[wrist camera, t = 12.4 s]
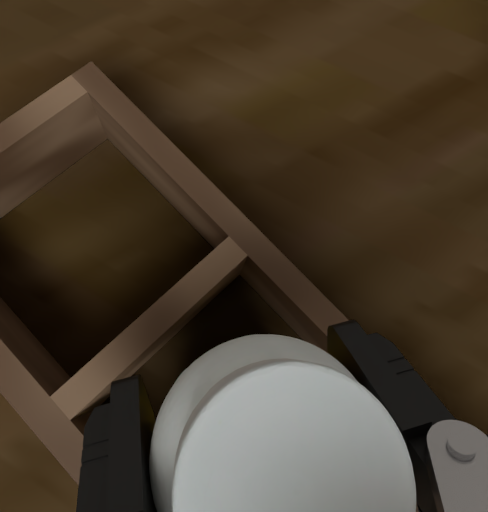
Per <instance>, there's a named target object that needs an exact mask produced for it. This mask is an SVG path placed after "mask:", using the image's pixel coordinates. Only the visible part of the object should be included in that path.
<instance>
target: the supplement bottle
mask: <svg viewBox="0 0 488 512" xmlns="http://www.w3.org/2000/svg"><path fill="white" fill-rule="evenodd" d="M149 474H150V483H151V490H152V495H153V500H154V504H155V507H156V510H157V512H416V484H415V478H414V472H413V467H412V462H411V459H410V456H409V452H408V449H407V446H406V443H405V441H404V439H403V436H402V434H401V432H400V430H399V429H398V427H397V425H396V423H395V422H394V420H393V419H392V417H391V416H390V414H389V413H388V411H387V410H386V409H385V407H384V406H383V405H382V404H381V402H380V401H379V400H378V399H377V398H376V397H375V396H374V395H373V394H372V393H371V392H370V391H369V390H367V389H366V388H365V387H364V386H363V385H361V384H360V383H359V382H357V380H356V379H355V378H354V376H353V375H352V374H351V373H350V372H349V371H348V370H347V369H346V368H345V367H344V366H343V365H342V364H341V363H340V362H339V361H338V360H336V359H335V358H334V357H333V356H331V355H330V354H328V353H327V352H325V351H324V350H322V349H320V348H318V347H317V346H315V345H313V344H310V343H308V342H306V341H303V340H300V339H297V338H293V337H289V336H283V335H275V334H254V335H247V336H243V337H239V338H236V339H233V340H230V341H227V342H224V343H222V344H220V345H218V346H216V347H214V348H213V349H211V350H209V351H207V352H206V353H204V354H203V355H202V356H200V357H199V358H198V359H196V360H195V361H194V362H193V363H192V364H191V365H190V366H189V367H188V368H186V369H185V370H184V371H183V372H182V373H181V374H180V376H179V377H178V378H177V380H176V381H175V383H174V384H173V386H172V388H171V389H170V391H169V393H168V394H167V396H166V398H165V400H164V402H163V404H162V406H161V408H160V411H159V413H158V416H157V419H156V422H155V426H154V429H153V434H152V439H151V446H150V457H149Z"/></svg>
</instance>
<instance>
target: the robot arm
mask: <svg viewBox="0 0 488 512" xmlns="http://www.w3.org/2000/svg"><path fill="white" fill-rule="evenodd" d="M327 353H328V354H330V355H331V356H333V357H334V358H335V359H336V360H338V361H339V362H340V363H341V364H342V365H343V366H344V367H345V368H346V369H347V370H348V371H349V372H350V373H351V374H352V375H353V376H354V378H355V379H356V380H357V382H359V383H360V384H361V385H363V386H364V387H365V388H366V389H367V390H369V391H370V392H371V393H372V394H373V395H374V396H375V397H376V398H377V399H378V400H379V401H380V402H381V404H382V405H383V406H384V407H385V409H386V410H387V411H388V413H389V414H390V416H391V417H392V419H393V420H394V422H395V423H396V425H397V427H398V429H399V430H400V432H401V434H402V436H403V439H404V441H405V443H406V446H407V449H408V452H409V456H410V459H411V462H412V467H413V472H414V478H415V484H416V512H488V435H485V434H484V433H483V432H482V431H480V430H479V429H477V428H476V427H474V426H472V425H470V424H468V423H465V422H462V421H458V420H457V419H455V418H454V417H453V416H452V414H451V413H450V412H449V411H448V410H447V408H446V407H445V406H444V405H443V404H442V402H441V401H440V400H439V399H438V397H437V396H436V395H435V394H434V393H433V391H432V390H431V389H430V388H429V387H428V385H427V384H426V383H425V382H424V380H423V379H422V378H421V377H420V376H419V374H418V373H417V372H416V371H414V369H413V367H412V366H411V365H410V363H409V362H408V361H407V360H405V359H404V356H403V355H402V354H401V352H400V351H399V350H398V349H397V347H396V346H395V345H394V344H393V343H392V342H391V341H389V340H387V339H386V338H384V337H382V336H381V335H379V334H378V333H373V334H369V335H367V334H366V333H365V332H364V330H363V329H362V328H361V326H360V325H359V324H358V323H357V322H356V321H355V320H349V321H346V322H342V323H338V324H334V325H330V326H328V329H327ZM155 422H156V421H155V417H154V413H153V409H152V406H151V403H150V401H149V398H148V395H147V392H146V389H145V386H144V383H143V380H142V377H141V375H140V374H139V375H135V376H131V377H127V378H124V379H120V380H116V381H112V383H111V391H110V403H109V404H105V405H101V406H98V407H94V409H93V411H92V413H91V415H90V417H89V419H88V421H87V423H86V425H85V427H84V437H83V450H82V457H81V465H82V466H81V468H80V478H79V488H78V498H77V509H76V512H157V510H156V507H155V504H154V500H153V495H152V490H151V483H150V474H149V457H150V446H151V439H152V434H153V429H154V426H155Z"/></svg>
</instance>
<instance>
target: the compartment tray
mask: <svg viewBox="0 0 488 512" xmlns="http://www.w3.org/2000/svg"><path fill="white" fill-rule="evenodd" d="M106 139H108V140H109V141H110V142H111V143H112V144H113V145H114V146H115V147H116V148H117V149H118V150H119V151H120V152H121V153H122V154H123V155H124V156H125V157H126V158H127V159H128V160H129V161H130V162H131V163H132V164H133V165H134V167H135V168H136V169H137V170H138V171H139V172H140V173H141V174H142V175H143V176H144V177H145V178H146V179H147V180H148V181H149V182H150V183H151V184H152V185H153V186H154V187H155V188H156V189H157V190H158V191H159V192H160V193H161V194H162V195H163V196H164V197H165V198H166V200H167V201H168V202H169V203H170V204H171V205H172V206H173V207H174V208H175V209H176V210H177V211H178V212H179V213H180V214H181V215H182V216H183V217H184V218H185V219H186V220H187V221H188V222H189V223H190V224H191V225H192V226H193V227H194V228H195V229H196V230H197V231H198V232H199V234H200V235H201V236H202V237H203V238H204V239H205V240H206V241H207V242H208V243H209V244H210V245H211V246H212V247H213V248H214V250H213V251H212V252H211V253H209V254H208V255H207V256H206V257H205V258H204V259H203V260H202V261H201V262H199V263H198V264H197V265H196V266H195V267H194V268H193V269H192V270H191V271H189V272H188V273H187V274H186V275H185V276H184V277H183V278H182V279H181V280H179V281H178V282H177V283H176V284H175V285H174V286H173V287H172V288H171V289H169V290H168V291H167V292H166V293H165V294H164V295H163V296H162V297H160V298H159V299H158V300H157V301H156V302H155V303H154V304H153V305H152V306H150V307H149V308H148V309H147V310H146V311H145V312H144V313H143V314H142V315H140V316H139V317H138V318H137V319H136V320H135V321H134V322H133V323H132V324H130V325H129V326H128V327H127V328H126V329H125V330H124V331H123V332H122V333H120V334H119V335H118V336H117V337H116V338H115V339H114V340H113V341H111V342H110V343H109V344H108V345H107V346H106V347H105V348H104V349H103V350H101V351H100V352H99V353H98V354H97V355H96V356H95V357H94V358H93V359H91V360H90V361H89V362H88V363H87V364H86V365H85V366H84V367H83V368H81V369H80V370H79V371H78V372H77V373H76V374H75V375H74V376H73V377H71V378H70V376H69V375H68V374H67V373H66V372H65V371H64V370H63V368H62V367H61V366H60V365H59V364H58V363H57V362H56V360H55V359H54V358H53V357H52V356H51V355H50V353H49V352H48V351H47V350H46V349H45V348H44V347H43V345H42V344H41V343H40V342H39V341H38V340H37V339H36V337H35V336H34V335H33V334H32V333H31V332H30V331H29V329H28V328H27V327H26V326H25V325H24V324H23V323H22V321H21V320H20V319H19V318H18V317H17V316H16V314H15V313H14V312H13V311H12V310H11V309H10V308H9V306H8V305H7V304H6V303H5V302H4V301H3V300H2V298H1V297H0V393H1V394H2V395H3V396H4V397H5V399H6V400H7V401H8V402H9V403H10V405H11V406H12V407H13V408H14V409H15V410H16V412H17V413H18V414H19V415H20V416H21V418H22V419H23V420H24V421H25V422H26V424H27V425H28V426H29V427H30V428H31V429H32V431H33V432H34V433H35V434H36V435H37V437H38V438H39V439H40V440H41V441H42V443H43V444H44V445H45V446H46V447H47V448H48V450H49V451H50V452H51V453H52V454H53V456H54V457H55V458H56V459H57V460H58V462H59V463H60V464H61V465H62V466H63V467H64V469H65V470H66V471H67V472H68V473H69V475H70V476H71V477H72V478H73V479H74V481H75V482H76V483H77V484H78V485H79V478H80V468H81V466H82V465H81V457H82V450H83V437H84V427H85V425H86V423H87V421H88V419H89V417H90V415H91V413H92V411H93V409H94V407H98V406H100V405H101V404H102V403H103V402H104V401H105V400H106V399H107V398H108V397H109V396H110V391H111V383H112V381H116V380H120V379H124V378H127V377H131V376H132V375H133V374H134V373H135V372H136V371H137V370H138V369H139V368H140V367H141V366H143V365H144V364H145V363H146V362H147V361H148V360H149V359H150V358H151V357H152V356H153V355H154V354H155V353H156V352H157V351H159V350H160V349H161V348H162V347H163V346H164V345H165V344H166V343H167V342H168V341H169V340H170V339H171V338H172V337H173V336H175V335H176V334H177V333H178V332H179V331H180V330H181V329H182V328H183V327H184V326H185V325H186V324H187V323H188V322H189V321H191V320H192V319H193V318H194V317H195V316H196V315H197V314H198V313H199V312H200V311H201V310H202V309H203V308H204V307H205V306H207V305H208V304H209V303H210V302H211V301H212V300H213V299H214V298H215V297H216V296H217V295H218V294H219V293H220V292H221V291H223V290H224V289H225V288H226V287H227V286H228V285H229V284H230V283H231V282H232V281H233V280H234V279H235V278H236V277H237V276H239V275H240V276H241V277H242V278H243V279H244V280H245V281H246V282H247V283H248V284H249V285H250V286H251V287H252V288H253V289H254V290H255V291H256V292H257V293H258V294H259V295H260V296H261V297H262V298H263V299H264V301H265V302H266V303H267V304H268V305H269V306H270V307H271V308H272V309H273V310H274V311H275V312H276V313H277V314H278V315H279V316H280V317H281V318H282V319H283V320H284V321H285V322H286V323H287V324H288V325H289V326H290V327H291V328H292V329H293V330H294V331H295V332H296V334H297V335H298V336H299V337H300V338H301V339H302V340H303V341H306V342H308V343H310V344H313V345H315V346H317V347H318V348H320V349H322V350H324V351H325V352H327V329H328V326H330V325H334V324H338V323H342V322H346V321H349V320H348V319H347V318H346V317H345V316H344V315H343V314H342V313H341V312H340V311H339V310H338V309H337V308H336V307H335V306H334V305H333V304H332V303H331V302H330V301H329V300H328V299H327V298H326V297H325V296H324V295H323V294H322V293H321V292H320V291H319V290H318V289H317V288H316V287H315V286H314V285H313V284H312V283H311V282H310V281H309V280H308V279H307V278H306V277H305V276H304V275H303V274H302V273H301V272H300V270H299V269H298V268H297V267H296V266H295V265H294V264H293V263H292V262H291V261H290V260H289V259H288V258H287V257H286V256H285V255H284V254H283V253H282V252H281V251H280V250H279V249H278V248H277V247H276V246H275V245H274V244H273V243H272V242H271V241H270V240H269V239H268V238H267V237H266V236H265V235H264V234H263V233H262V232H261V231H260V230H259V229H258V228H257V227H256V226H255V225H254V224H253V223H252V222H251V221H250V220H249V219H248V218H247V217H246V216H245V215H244V214H243V213H242V212H241V211H240V210H239V209H238V208H237V207H236V206H235V205H234V204H233V203H232V202H231V201H230V200H229V199H228V198H227V197H226V196H225V195H224V194H223V193H222V192H221V191H220V190H219V189H218V188H217V187H216V186H215V185H214V184H213V183H212V182H211V181H210V180H209V179H208V178H207V177H206V176H205V175H204V174H203V173H202V172H201V171H200V170H199V169H198V168H197V167H196V166H195V165H194V164H193V163H192V162H191V161H190V160H189V159H188V158H187V157H186V156H185V155H184V154H183V153H182V152H181V151H180V150H179V149H178V148H177V147H176V146H175V145H174V144H173V143H172V142H171V141H170V140H169V139H168V138H167V137H166V136H165V135H164V134H163V133H162V132H161V131H160V130H159V129H158V128H157V127H156V126H155V125H154V124H153V123H152V122H151V121H150V120H149V119H148V118H147V117H146V116H145V115H144V114H143V113H142V112H141V111H140V110H139V109H138V108H137V107H136V106H135V105H134V104H133V103H132V102H131V101H130V100H129V99H128V98H127V97H126V96H125V95H124V94H123V93H122V92H121V90H120V89H119V88H118V87H117V86H116V85H115V84H114V83H113V82H112V81H111V80H110V79H109V78H108V77H107V76H106V75H105V74H104V73H103V72H102V71H101V70H100V69H99V68H98V67H97V66H96V65H95V64H94V63H93V62H92V61H91V62H89V63H88V64H86V65H85V66H83V67H82V68H81V69H79V70H78V71H76V72H75V73H73V74H72V75H70V76H69V77H67V78H66V79H64V80H63V81H61V82H60V83H58V84H57V85H56V86H54V87H53V88H51V89H50V90H48V91H47V92H45V93H44V94H42V95H41V96H39V97H38V98H36V99H35V100H33V101H32V102H30V103H29V104H28V105H26V106H25V107H23V108H22V109H20V110H19V111H17V112H16V113H14V114H13V115H11V116H10V117H8V118H7V119H5V120H4V121H2V122H1V123H0V218H2V217H3V216H4V215H6V214H7V213H8V212H10V211H11V210H12V209H14V208H15V207H16V206H18V205H19V204H21V203H22V202H23V201H25V200H26V199H27V198H29V197H30V196H31V195H33V194H34V193H35V192H37V191H38V190H39V189H41V188H42V187H43V186H45V185H46V184H47V183H49V182H50V181H51V180H53V179H54V178H55V177H57V176H58V175H59V174H61V173H62V172H63V171H65V170H66V169H68V168H69V167H70V166H72V165H73V164H74V163H76V162H77V161H78V160H80V159H81V158H82V157H84V156H85V155H86V154H88V153H89V152H90V151H92V150H93V149H94V148H96V147H97V146H98V145H100V144H101V143H102V142H104V141H105V140H106Z"/></svg>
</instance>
